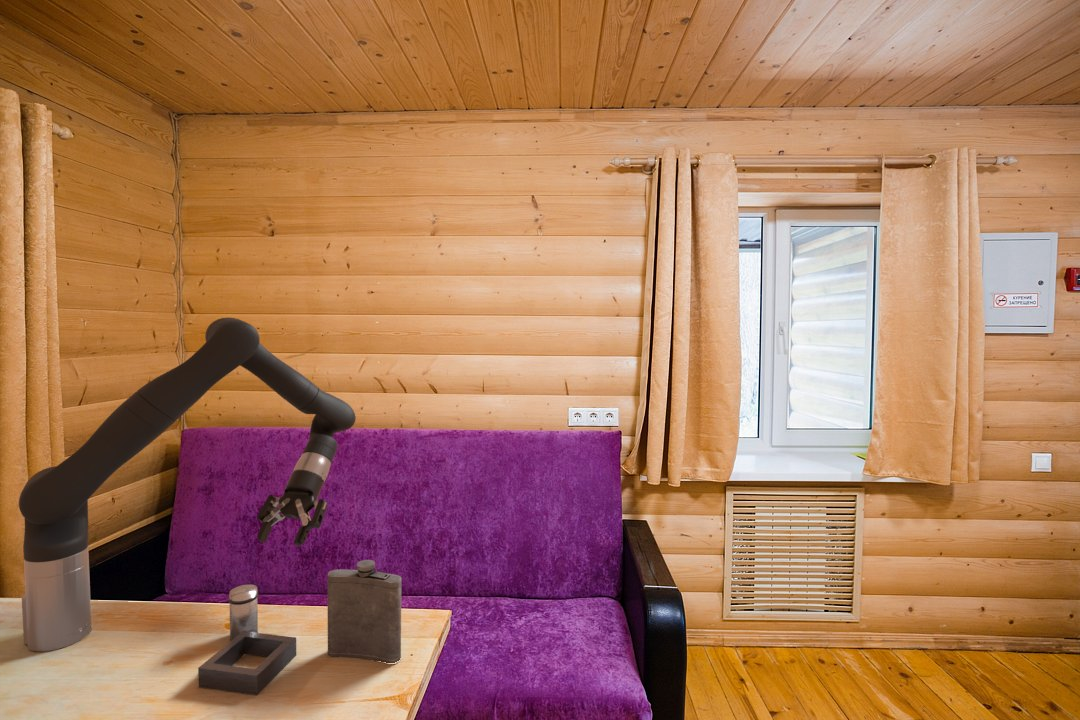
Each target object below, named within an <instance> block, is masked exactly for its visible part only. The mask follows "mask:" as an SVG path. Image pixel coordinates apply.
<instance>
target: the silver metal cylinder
mask: <svg viewBox="0 0 1080 720" xmlns="http://www.w3.org/2000/svg"><path fill="white" fill-rule="evenodd" d="M258 597H259V590H258V586H257V585H255V584H242V585H239V586H236V587H234V588H232V589H231V590H230V591H229V596H228V603H229V642H230V641H232V640H233V639H234V638H235V637H236V636H238V635H239V634H240V633H241V632H243V631H246V632H255V633H259V631H258V630H259V628H258V627H259V626H258V625H259V624H258V623H259V621H258V620H259V619H258V616H259V615H258Z"/></svg>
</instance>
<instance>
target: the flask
mask: <svg viewBox="0 0 1080 720" xmlns="http://www.w3.org/2000/svg"><path fill="white" fill-rule="evenodd" d="M375 567H376V561H374V560H372V559H362V560H361V561H357V563H356V569H333V570H330V571H329V572H327V578H326V579H327V657H329V658H332V659H333V658H334V659H335V658H337V659H339V658H341V659H343V658H344V659H357V660H364V661H365V660H366V661H371V660H373V661H372V662H377V661H381V662H386V663H395V662H397V661H399V660H400V658H401V659H402V576H400V575H396V574H393V573H387V572H382V571H377V570H375ZM400 661H401V660H400ZM381 662H380V663H381Z"/></svg>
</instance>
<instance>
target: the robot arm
mask: <svg viewBox="0 0 1080 720" xmlns="http://www.w3.org/2000/svg"><path fill="white" fill-rule="evenodd" d="M205 330H206V331H205V335H204V336H205V343H204V344H203V345H202V346H201V347H200V348H199V349H197V350H196V351H195V353H193V354H192V355H191V356H190V357H189V358H188V359H186V360H185V361H183V363H181V364H179V365H177V366H175V367H173V368H171V369H170V370H168V371H166V372H164V373H163V374H160V375H159V376H157V377H155V378H154V379H152V380H150V381H148V382H147V383H145V384H144V385H143V386H142V387H140V388H139V389H138V390H137V391H135V392H134V393H133V394H132V395H130V397H128V398H127V399H126V400H124V401H123V402H122V403H121V404H120V405H119V406H118V407H117V408H116V409H115V410H114V411H113V412H111V414H110V415H108V417H106V419H105V420H104V421H103V422H102V423H101V424H100V426H99V427H98V428H96V430H95V431H94V432H93V433H92V435H91V436H90V437H89V438H88V440H86V442H85V443H84V444H83V445H82V446H81V447H80V448H78V449H77V450H76V451H74V452H73V453H72V454H71V455H70V456H68V457H67V458H66V459H64V460H63V461H62V462H61V463H59V464H57V465H55V466H49V467H47V468H43V469H42V470H40V471H37V472H36V473H35V474H33V475H32V476H31V477H30V478H29V479H28V480H27V482H26V484H25V485H24V486H23V489H22V490H21V492H20V495H19V497H18V499H19V500H18V508H19V512H20V513H21V515H22V517H23V518H24V536H23V537H24V538H23V543H22V544H23V546H22V547H23V549H22V551H23V570H24V585H25V586H24V589H25V593H24V594H23V595H22V596H21V608H22V609H21V615H22V628H23V629H22V632H23V633H22V634H23V635H22V636H23V644H24V645H27V648H28V649H29V651H32V652H49V651H54V650H58V649H62V648H65V647H68V646H71V645H73V644H75V643H77V642H79V641H81V640H82V639H84V638H85V637H87V636H88V635H89V634H90V633H91V630H92V610H91V609H92V604H91V585H90V584H91V581H90V579H91V578H90V559H89V558H90V556H89V555H90V554H89V505H88V504H89V502H88V501H89V499H90V498H91V497H92V496H93V495H94V493H95V492H97V491H98V490H99V488H100V487H101V486H102V485H103V484H104V483H105V482H106V481H107V480H108V479H109V478H110V477H111V476H112V475H113V474H114V473H115V472H116V471H118V470H119V469H120V468H121V467H122V466H124V465H125V464H126V463H127V462H129V461H130V460H131V459H132V458H134V457H135V456H136V455H138V454H139V453H141V451H142V450H144V449H146V447H148V446H149V445H150V444H151V443H152V442H153V441H156V439H157V438H159V437H160V436H161V435H162V434H163V433H165V432H166V431H167V429H169V428H171V426H173V424H175V423H176V422H177V421H178V420H179V419H180V418H181V417H182V416H183V415H184V414H185V413H186V412H187V411H188V410H190V409H191V407H193V405H195V404H197V402H198V401H199V400H200V399H201V398H202V397H203V396H204V395H205V394H207V392H209V390H210V389H211V388H213V386H215V385H216V384H217V383H218V382H220V380H222V379H223V378H224V377H226V376H228V374H230V373H232V372H233V371H234V370H235V369H237V368H238V367H242V368H244V369H245V370H246V371H248V372H249V373H251V374H252V375H254V376H255V377H256V378H258V379H259V380H261V382H263V383H264V384H266V386H267V387H269V388H270V389H272V391H274V393H276V394H277V395H279V396H280V397H281V398H282V399H283V400H284V401H286V402H287V403H288V404H290V405H291V406H293V407H294V408H296V409H297V410H299V412H301V413H303V414H305V415H314V416H313V419H312V420H311V426H310V431H309V436H308V442H307V443H306V445H305V448H304V450H303V452H302V454H301V456H300V458H299V459H298V460H297V462H296V464H295V465H294V468H293V470H292V473H291V474H290V476H289V479H288V481H287V483H286V485H285V487H284V492H283V494H282V495H281V496H280V497H277V496H274V495H273V494H269V495H268V496H267V498H266V500H265V502H264V503H263V504H262V507H261V509H260V510H259V513H258V514H257V517H256V519H257V520H259V521H260V522H261V523H262V525H261V526H260V529H259V531H258V532H257V540H258V541H259V542H260V543H263V544H264V543H266V542H267V540H268V538H269V536H270V533H271V531H272V529H273V526H274V525H276V523H278V522H279V521H282V520H284V519H285V518H286V519H296V520H301V524H302V526H300V527H299V529H298V531H297V534H296V536H295V538H294V540H293V544H294V545H295V546H296V547H301V546H302V545H303V544H304V543H305V542H306V540H307V537H308V536H309V534H310V531H311V530H312V529H320V528H321V526H322V523H323V521H324V517H325V514H326V512H327V509H328V506H329V504H328V503H327V502H326V501H325V499H324V498H320V499H319V500H318V498H319V496H320V494H321V491H322V489H323V487H324V484H325V481H326V479H327V477H328V475H329V472H330V469H331V465H332V462H333V460H334V457H335V455H336V454H337V450H338V445H339V444H338V442H337V440H336V439H335V438H334V435H335V434H337V433H341V432H344V431H347V430H349V429H352V427H353V426H354V425H355V423H356V413H355V411H354V409H353V407H352V406H351V405H350V404H348V402H347V401H344V400H342V399H341V398H338V397H336V396H335V395H332V394H330V393H328V392H326V391H324V390H322V389H321V388H320V387H318V386H317V385H315V383H313V382H312V381H311V380H309V378H308V377H306V376H304V375H303V374H302V373H301V372H299V371H297V370H296V369H294V368H293V367H291V366H290V365H288V364H287V363H286V362H285V361H282V360H281V359H279V358H278V357H277V356H275V355H274V354H273V353H272V352H270V351H269V350H268V349H267V348H266V347H265V346H264V345H263V344H262V343H261V342H260V334H259V332H258V330H257V329H256V328H255V327H254V326H253V325H252V324H251V323H248V322H246V321H244V320H242V319H239V318H235V317H229V316H228V317H221V318H218V319H215V320H213V321H212V322H211V323H210V324H209V325H208V326H207V328H206V329H205ZM313 509H314V512H313V516H312V519H311V516H310V512H311V511H312V510H313ZM89 632H90V633H89Z"/></svg>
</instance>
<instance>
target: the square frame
mask: <svg viewBox="0 0 1080 720" xmlns="http://www.w3.org/2000/svg"><path fill="white" fill-rule="evenodd" d="M245 655H247V656H248V655H249V656H256V657H264V658H265V659H264V660H263V661H262V662H260V663H259V665H258V666H257V667H255V668H250V667H243V666H242V667H241V666H234V665H235V664H236V663H237V662H238V661H239V660H241V659H242V658H243V657H244V656H245ZM296 657H297V637H295V636H286V635H278V634H269V633H260V632H258V633H255V632H246V631H243V632H241V633H240V634H239V635H238V636H236V637H235V638H234V639H233V640H232V641H230V640H229V642H228V643H226V644H225V645H224V646H223V647H222V648H221V649H219V650H218V651H217V652H215V654H214V655H212V656H211V657H210V658H208V659H207V660H206V661H205V662H203V663H202V664H201V665H199V666H198V667H197V669H198V670H197V671H198V672H197V673H198V675H197V676H198V677H197V678H198V688H201V689H208V690H215V691H222V692H230V693H236V694H243V695H249V696H258V695H259V694H261V693H262V692H263V690H264V689H265V688H267V686H268V685H269V684H270V683H271V682H272V681H273V680H274V679H275V678H276V677H277V676H278V675H279V674H280V673H281V672H282V671H283V670H284V669H285V668H286V667H287V665H288V664H290V662H292V661H293V660H294V658H296Z"/></svg>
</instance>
